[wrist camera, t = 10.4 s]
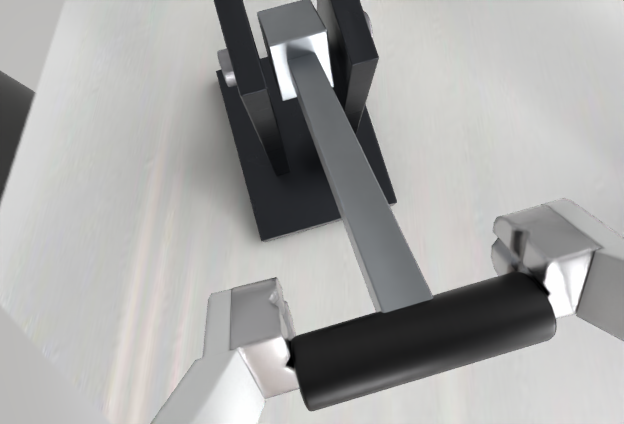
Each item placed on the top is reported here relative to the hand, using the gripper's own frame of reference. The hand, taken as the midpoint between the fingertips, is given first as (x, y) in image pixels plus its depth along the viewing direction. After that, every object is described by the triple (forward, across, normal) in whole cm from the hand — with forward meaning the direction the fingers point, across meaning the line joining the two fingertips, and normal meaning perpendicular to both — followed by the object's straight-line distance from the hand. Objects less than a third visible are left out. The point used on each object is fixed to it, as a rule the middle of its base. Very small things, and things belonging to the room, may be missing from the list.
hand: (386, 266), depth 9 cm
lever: (+5, 0, 0) cm, 5 cm away
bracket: (+18, 0, +4) cm, 18 cm away
